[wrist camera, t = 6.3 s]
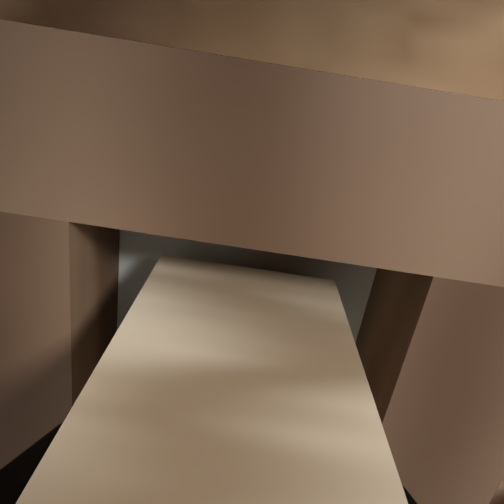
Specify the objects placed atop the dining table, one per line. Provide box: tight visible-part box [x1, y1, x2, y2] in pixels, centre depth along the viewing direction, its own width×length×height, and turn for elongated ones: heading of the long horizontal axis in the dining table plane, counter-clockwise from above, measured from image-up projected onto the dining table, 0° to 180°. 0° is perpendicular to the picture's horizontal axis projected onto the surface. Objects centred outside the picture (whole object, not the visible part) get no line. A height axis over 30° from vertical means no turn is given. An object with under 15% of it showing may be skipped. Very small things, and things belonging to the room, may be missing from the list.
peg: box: [16, 255, 408, 504], centre depth 7 cm, size 4×4×7 cm
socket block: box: [0, 19, 504, 504], centre depth 10 cm, size 12×12×4 cm
